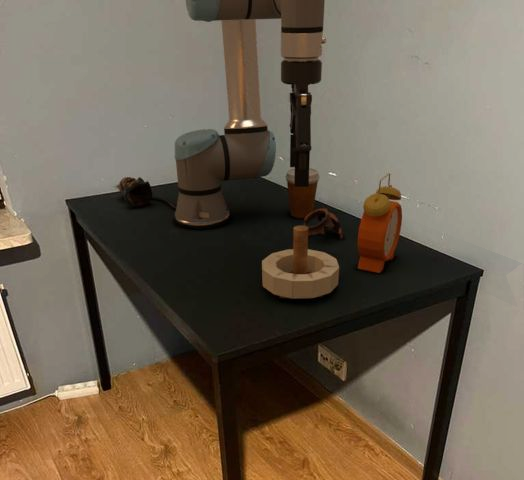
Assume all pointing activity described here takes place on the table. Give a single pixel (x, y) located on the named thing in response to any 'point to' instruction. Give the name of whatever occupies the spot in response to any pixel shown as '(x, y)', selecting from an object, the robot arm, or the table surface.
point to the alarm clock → (379, 228)
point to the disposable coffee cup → (302, 194)
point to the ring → (300, 275)
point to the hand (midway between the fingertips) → (298, 176)
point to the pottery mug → (322, 222)
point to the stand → (300, 251)
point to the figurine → (135, 191)
